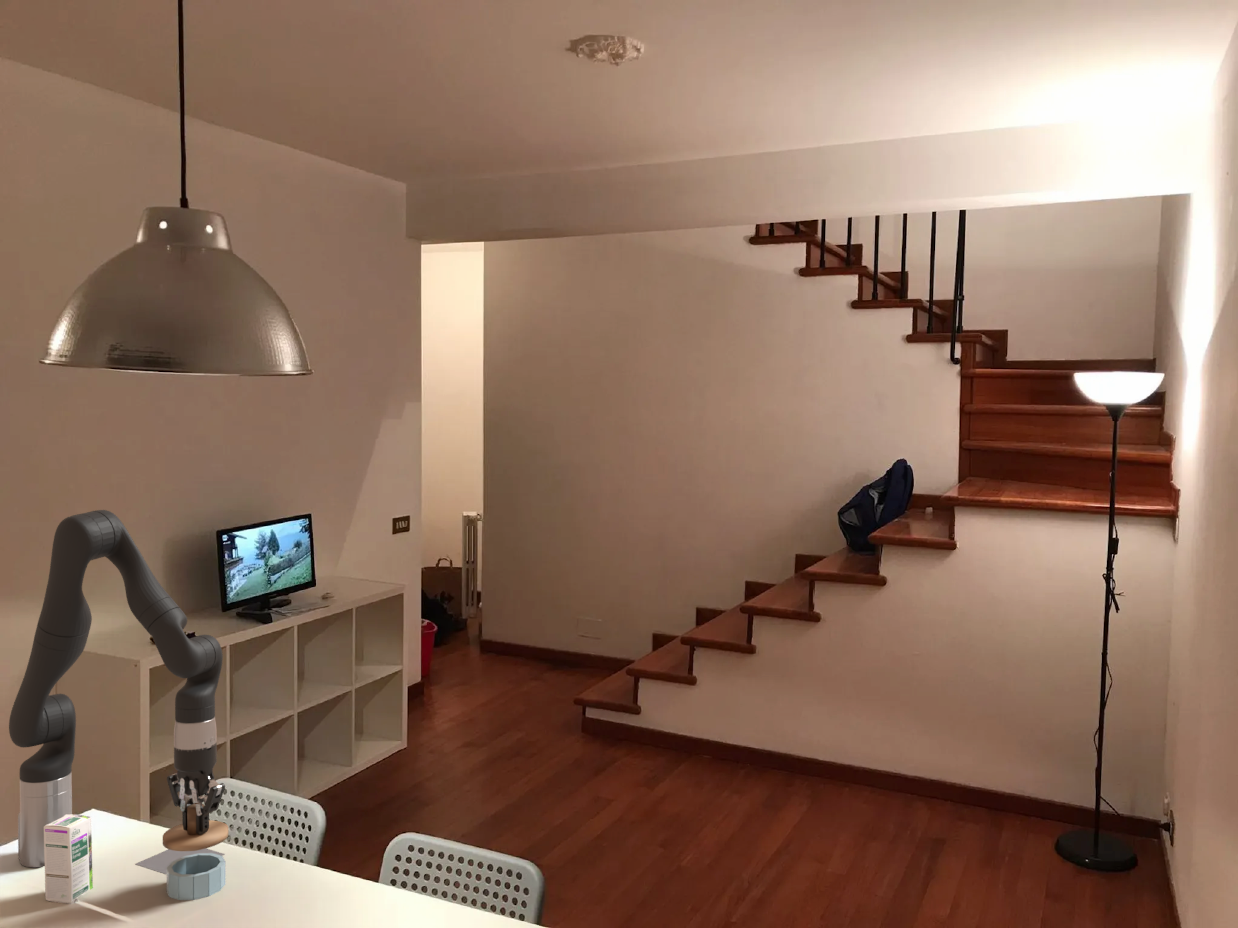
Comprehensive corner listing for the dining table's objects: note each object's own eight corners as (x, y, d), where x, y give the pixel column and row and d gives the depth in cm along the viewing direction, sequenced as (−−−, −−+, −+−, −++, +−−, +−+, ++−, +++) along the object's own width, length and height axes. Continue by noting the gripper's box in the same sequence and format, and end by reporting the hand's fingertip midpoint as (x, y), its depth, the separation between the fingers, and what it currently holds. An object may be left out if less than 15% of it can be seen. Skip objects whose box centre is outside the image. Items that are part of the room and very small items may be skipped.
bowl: (155, 894, 190) (155, 868, 190) (199, 873, 199) (199, 849, 199) (192, 907, 185) (192, 880, 185) (236, 885, 194) (236, 859, 194)
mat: (134, 866, 201) (134, 863, 201) (184, 844, 212) (184, 841, 212) (175, 879, 196) (175, 876, 196) (225, 856, 207) (225, 853, 207)
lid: (149, 848, 189) (148, 810, 189) (200, 826, 199) (199, 791, 199) (191, 861, 184) (191, 822, 183) (241, 838, 194) (241, 801, 194)
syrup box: (71, 904, 186) (70, 827, 185) (43, 900, 187) (43, 824, 186) (93, 890, 191) (92, 815, 191) (66, 887, 192) (65, 812, 192)
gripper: (153, 741, 191) (153, 830, 191) (204, 753, 184) (205, 845, 185) (186, 730, 197) (187, 817, 198) (237, 741, 191) (237, 831, 191)
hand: (195, 830), depth 191 cm, fingers closed on lid, 3 cm apart
